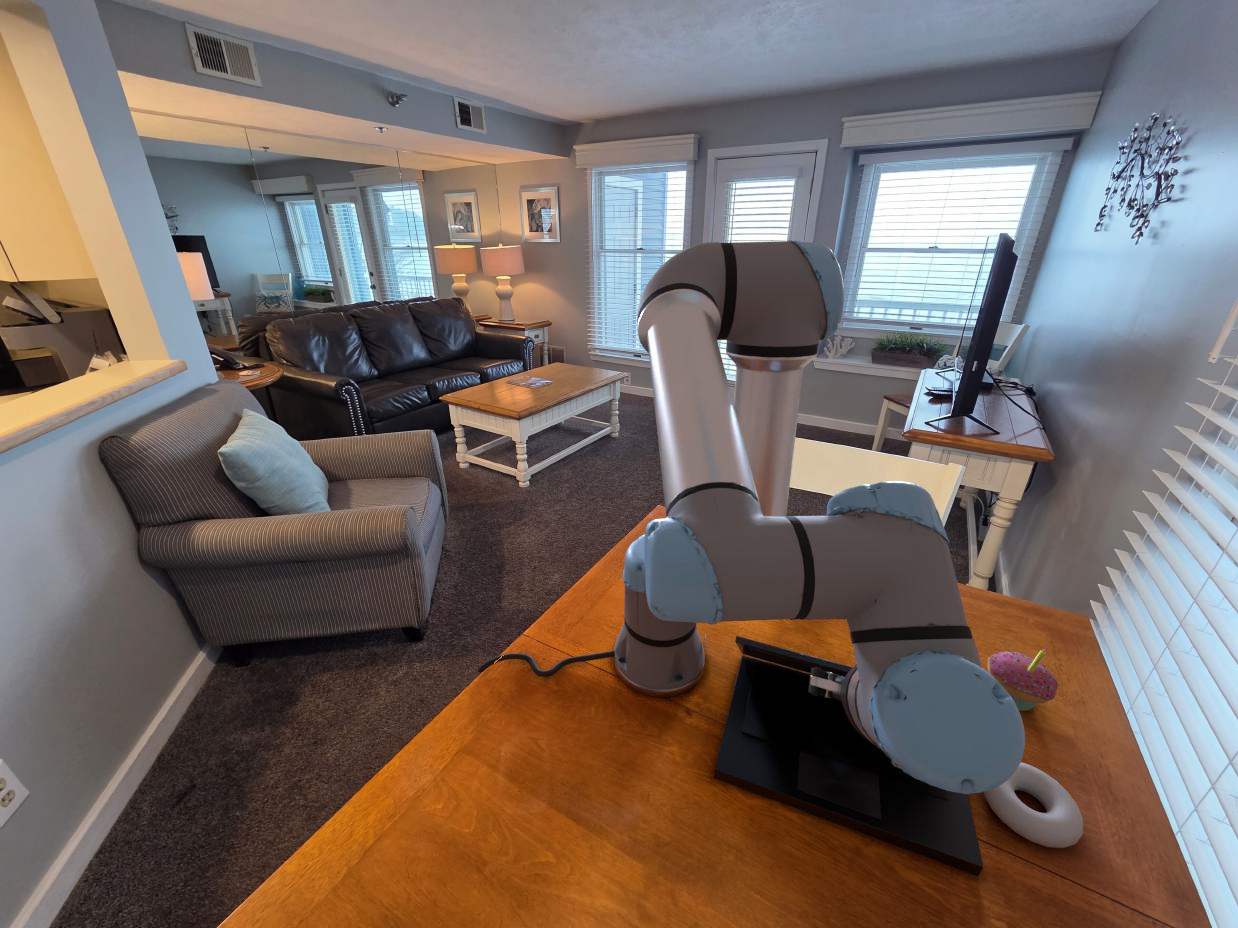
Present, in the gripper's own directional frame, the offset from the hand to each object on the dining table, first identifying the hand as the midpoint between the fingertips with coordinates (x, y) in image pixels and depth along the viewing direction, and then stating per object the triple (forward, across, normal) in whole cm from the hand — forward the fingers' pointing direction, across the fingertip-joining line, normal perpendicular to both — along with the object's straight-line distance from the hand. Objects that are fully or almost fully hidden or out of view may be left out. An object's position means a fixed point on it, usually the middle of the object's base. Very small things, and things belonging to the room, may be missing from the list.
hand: (854, 690), depth 63 cm
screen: (+6, 0, +1) cm, 6 cm away
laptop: (+11, 0, -8) cm, 13 cm away
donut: (+11, +22, -8) cm, 26 cm away
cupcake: (+24, +25, +5) cm, 35 cm away
